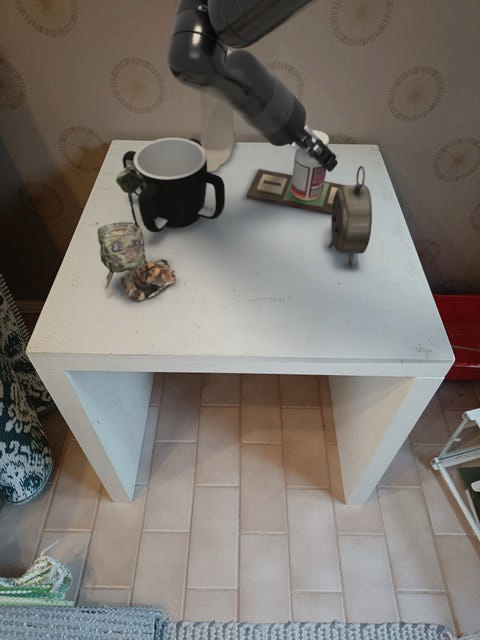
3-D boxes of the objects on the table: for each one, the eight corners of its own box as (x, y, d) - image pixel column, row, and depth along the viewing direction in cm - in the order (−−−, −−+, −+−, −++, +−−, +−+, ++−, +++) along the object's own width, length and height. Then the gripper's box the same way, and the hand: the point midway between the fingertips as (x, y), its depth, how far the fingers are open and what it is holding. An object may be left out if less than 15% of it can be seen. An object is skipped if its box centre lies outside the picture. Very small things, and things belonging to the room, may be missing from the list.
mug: (229, 235, 78) (228, 178, 68) (140, 250, 75) (126, 193, 66) (210, 182, 87) (207, 125, 77) (130, 194, 85) (117, 136, 75)
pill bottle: (322, 184, 86) (333, 129, 77) (321, 203, 82) (332, 149, 73) (291, 181, 86) (298, 126, 77) (289, 200, 82) (295, 145, 73)
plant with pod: (104, 272, 72) (67, 166, 56) (171, 259, 74) (154, 153, 58) (109, 309, 67) (70, 205, 51) (181, 294, 69) (164, 189, 53)
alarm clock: (361, 271, 73) (388, 190, 60) (329, 271, 73) (349, 190, 60) (351, 228, 79) (374, 146, 66) (322, 227, 79) (339, 146, 66)
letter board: (364, 192, 86) (366, 186, 85) (358, 220, 80) (360, 215, 79) (258, 172, 89) (258, 166, 88) (246, 198, 84) (246, 192, 83)
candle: (189, 169, 90) (179, 67, 74) (206, 135, 98) (201, 35, 82) (222, 174, 89) (219, 71, 73) (237, 139, 97) (237, 39, 81)
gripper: (316, 107, 61) (358, 156, 74) (259, 69, 68) (307, 120, 81) (283, 153, 63) (329, 192, 76) (231, 111, 71) (282, 154, 84)
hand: (318, 155), depth 79 cm, fingers open, 8 cm apart
